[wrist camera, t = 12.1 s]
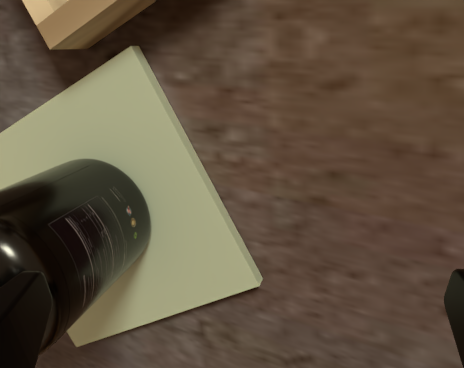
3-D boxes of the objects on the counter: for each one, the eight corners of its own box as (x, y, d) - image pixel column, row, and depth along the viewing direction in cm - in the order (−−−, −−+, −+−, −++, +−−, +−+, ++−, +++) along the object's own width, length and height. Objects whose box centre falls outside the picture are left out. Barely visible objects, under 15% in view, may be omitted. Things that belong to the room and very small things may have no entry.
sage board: (263, 278, 24) (259, 285, 23) (83, 339, 29) (76, 347, 29) (138, 45, 22) (130, 45, 21) (-30, 157, 27) (-41, 160, 27)
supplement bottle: (71, 270, 27) (-133, 429, 16) (35, 165, 25) (-222, 260, 14) (170, 263, 24) (12, 441, 13) (137, 146, 23) (-73, 241, 12)
